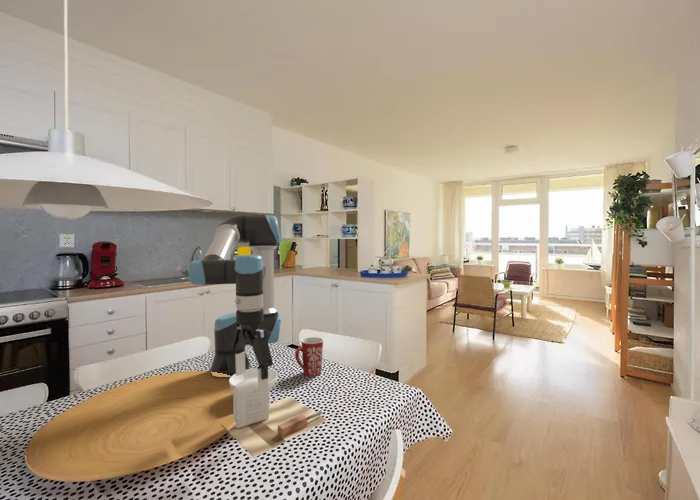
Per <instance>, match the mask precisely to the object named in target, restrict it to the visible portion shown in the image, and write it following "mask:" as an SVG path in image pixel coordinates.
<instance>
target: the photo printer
mask: <svg viewBox="0 0 700 500" xmlns="http://www.w3.org/2000/svg"><path fill="white" fill-rule="evenodd" d="M232 394H233V397H232V398H233V400H232V401H233V402H232V407H233V411H232V412H233V413H232V415H233V421H234V422H236V425H235V426H234V427H235V428H240V427H244V426H247V425H250V424H253V423H256V422H259V421H263V420H265V419H268V418H269V404H270V391H269V382H268V389H265V390H262V391H260V392H259V391H258V377H255V378H250V379H247V380H244V381H242V382H240V383H238V384H236V385H235V386H234V391H233V390H232Z"/></svg>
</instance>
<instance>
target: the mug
mask: <svg viewBox="0 0 700 500" xmlns="http://www.w3.org/2000/svg"><path fill="white" fill-rule="evenodd" d="M300 341H301V346H299V347H297V348H296V350H295V353H294V357H295V360H296V362H297V364H298V365H299V367H300V368H301V369H302V371H303V374H304V375H305V376H306V377H317V376H320V375H321V374H322V367H323V352H324V351H323V350H324V349H323V347H324V346H323V345H324V341H325V340H324V338H321V337H318V336H310V337H304V338H301V340H300ZM300 352H301V354H302V362H301V360H300Z"/></svg>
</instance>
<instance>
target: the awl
mask: <svg viewBox="0 0 700 500" xmlns="http://www.w3.org/2000/svg"><path fill="white" fill-rule="evenodd" d="M322 413H323V412H322V410H319V411H317V412H315V414H313V415H311V416H308V417H306V416H304V415H302V414H301V415H299V416H297V417H295V418H293V419H291V420H288V421H286V422H284V423H282V424H280V425H278V435H279V436H281V437H282V438H284V437H286V436H288V435H290V434H292V433H294V432H296V431H298V430H300V429H302V428H304V427H306V426H307V420H309V419H311V418H313V417H315V416H317V415H322Z"/></svg>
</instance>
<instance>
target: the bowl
mask: <svg viewBox="0 0 700 500" xmlns="http://www.w3.org/2000/svg"><path fill="white" fill-rule="evenodd" d="M255 377H258V369H257V367H256V368H255V367H253V368H249V369H247V370H245V373H244V374H241V375H238V376H236V374H234V375H233V376H231V377H229V380H228V383H229V387H230V390H232V392H233V391H234V386H235V385H236V384H238V383H240V382H242V381H244V380H247V379H250V378H255ZM277 379H278V372H277V371H276V370H274V369H273V368H272V369H271V368H268V382H269V392H270V391H271V390H272V388H273V387H275V384H276V383H277Z"/></svg>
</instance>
